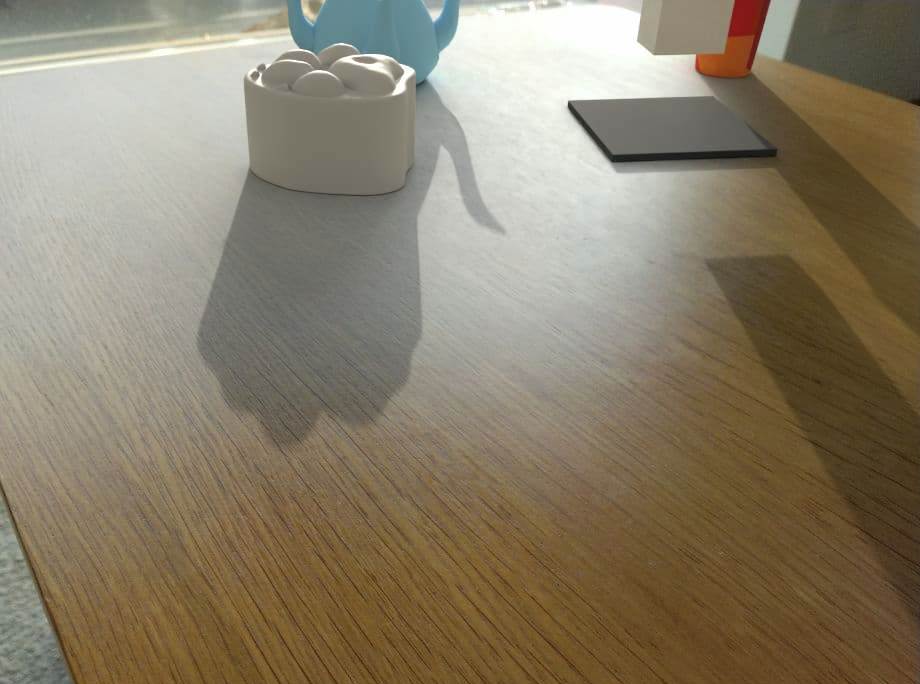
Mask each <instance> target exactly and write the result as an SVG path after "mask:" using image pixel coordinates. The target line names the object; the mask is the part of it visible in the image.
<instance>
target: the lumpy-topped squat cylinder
mask: <svg viewBox="0 0 920 684" xmlns="http://www.w3.org/2000/svg"><path fill="white" fill-rule="evenodd" d="M243 89H244V90H243V91H244V104H245V117H246V119H245V122H246V133H247V146H248V157H249V158H248V160H249V168H250V170H251V172H252V173H253V174H254V175H255V176H256V177H258V179H260V180H263V181H265V182H268V183H270V184H272V185H275V186H278V187H281V188H284V189H287V190H293V191H296V192H297V191H298V192H306V193H317V194H326V195H327V194H328V195H329V194H330V195H351V196H352V195H353V196H375V195H383V194H390V193H393V192H396V191H399V190H400V189H402V188H403V187H404V186H405V185H406V178H407V177H406V175H407V173H408V171H409V170H410V169H411V168H412V166H413V165H414V163H415V140H416V139H415V135H416V129H415V127H416V102H417V101H416V99H417V98H416V97H417V85H416V73H415V71H414V70H413V69H412V68H410V67H408V66H405V65H401V64H399V63H398V62H397V61H396V60H394V59H393V58H391V57H388V56H384V55H373V54H368V55H361V54H360V53H359V51H358V50H357V49H356V48H355V47H353V46H351V45H348V44H335V45H332V46H330V47H328V48H326V49H324V50H322V51H321V52H320V53H319V54H318V55H317V56H315V55H314V54H313V53H312V52H310V51H307V50H301V49H300V48H298V49H297V48H296V49H295V48H294V49H290V50H287V51H285V52H283V53H281V54H280V55H279V56H278V57H277V58H276V59H275V60H274V61H273V62H272V63H268V64H265V63H263V62H262V63H260V64H259V65H258V66H257V67H254V68H252V69H250V70H248V71H247V72H246V73H245V74H244V77H243Z"/></svg>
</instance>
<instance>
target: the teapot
mask: <svg viewBox="0 0 920 684" xmlns="http://www.w3.org/2000/svg"><path fill="white" fill-rule="evenodd" d="M460 1H461V0H444V5H443V8H442V11H441V12H440V14H439V15H438V17H436V18H435V19H434V20H433V18H432V16H431V14H430V11H429V9H428V7H427V6H426V4H425V2H424V0H324V2H323V4H322V6H321V7H320V8H319V11H318V13H317V15H316V18H315V19H314V22H313V23H312V22H311V21H310V20H309V19H308V18H307V16H305V13H304V9H303V4H302V0H286V4H287V5H286V6H287V17H288V27H289V31H290V35H291V37H292V40H293V42H294V43H295V44H296V46H297V47H298V49H301V50H307V51H310V52H312V53H313V54H314V55H315V56H317V55H318V54H319V53H320V52H321V51H322V50H324V49H326V48H328V47H330V46H332V45H335V44H348V45H351V46H353V47H355V48H356V49H357V50H358V51H359V53H360V54H361V55H368V54H373V55H384V56H388V57H391V58H393V59H394V60H396V61H397V62H398V63H399V64H401V65H405V66H408V67H410V68H412V69H413V70H414V71H415V73H416V86H417V85H419V84H421V83H423V82H424V81H425V80H426V78H428V76H430V74H431V73H432V72H433V71H434V69H435V68H436V67H437V65H438V63H439V60H440V54H441V52H443V50H445V49H446V48H448V47H449V46H450V44H451V43H452V41H453V39H454V38H455V35H456V32H457V30H458V25H459V18H460Z"/></svg>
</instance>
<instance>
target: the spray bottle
mask: <svg viewBox="0 0 920 684" xmlns="http://www.w3.org/2000/svg"><path fill="white" fill-rule="evenodd" d="M734 1H735V0H642V4H641V12H640V16H639V17H640V18H639V24H638V31H637V37H636V42H637V43H638V44H640V45H641V46H642V47H644V49H645V50H647V51H648V52H649V53H650V54H651V55H653V56H686V55H687V56H688V55H696V54H724V51H725V46H726V41H727V36H728V31H729V26H730V21H731V16H732V11H733V6H734Z"/></svg>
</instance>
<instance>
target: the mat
mask: <svg viewBox="0 0 920 684" xmlns="http://www.w3.org/2000/svg"><path fill="white" fill-rule="evenodd" d="M567 108H568V109H569V111H571V112H572V114H573V115H574V116H575V118H576V119H577V120H578V122H579V123H580V124H581V126H583V128H584V129H585V130H586V131H587V133H588V134H589V135H590V136H591V138H592V139H593V140H594V141H595V143H596V144H597V145H598V146H599V147H600V149H601V150H602V151H603V152H604V153H605V155H606V157H608V159H609V160H611V162H612V163H614V162H639V161H665V160H667V161H670V160H694V159H720V158H721V159H722V158H748V157H751V158H752V157H775V156H777V155H778V154H777V153H778V150H779V148H778V147H776V146H775V145H774V144H773V143H772V142H770V141H769V140H768V139H767V138H765V137H764V136H763V135H761V134H760V133H759V132H758V131H757V130H755V129H754V128H753V127H752V126H750V124H748V123H747V122H745V120H743V119H742V118H741V117H740V116H738V115H737V114H736V113H735V112H733V111H732V110H731V109H730V108H729V107H727V106H726V105H725V104H723V102H721V101H720V100H719V99H718V98H716V97H715V96H714V95H702V96H701V95H700V96H670V97H667V96H665V97H664V96H663V97H637V98H633V97H632V98H606V99H605V98H604V99H602V98H601V99H574V100H573V99H570V100H569V99H568V101H567Z"/></svg>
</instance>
